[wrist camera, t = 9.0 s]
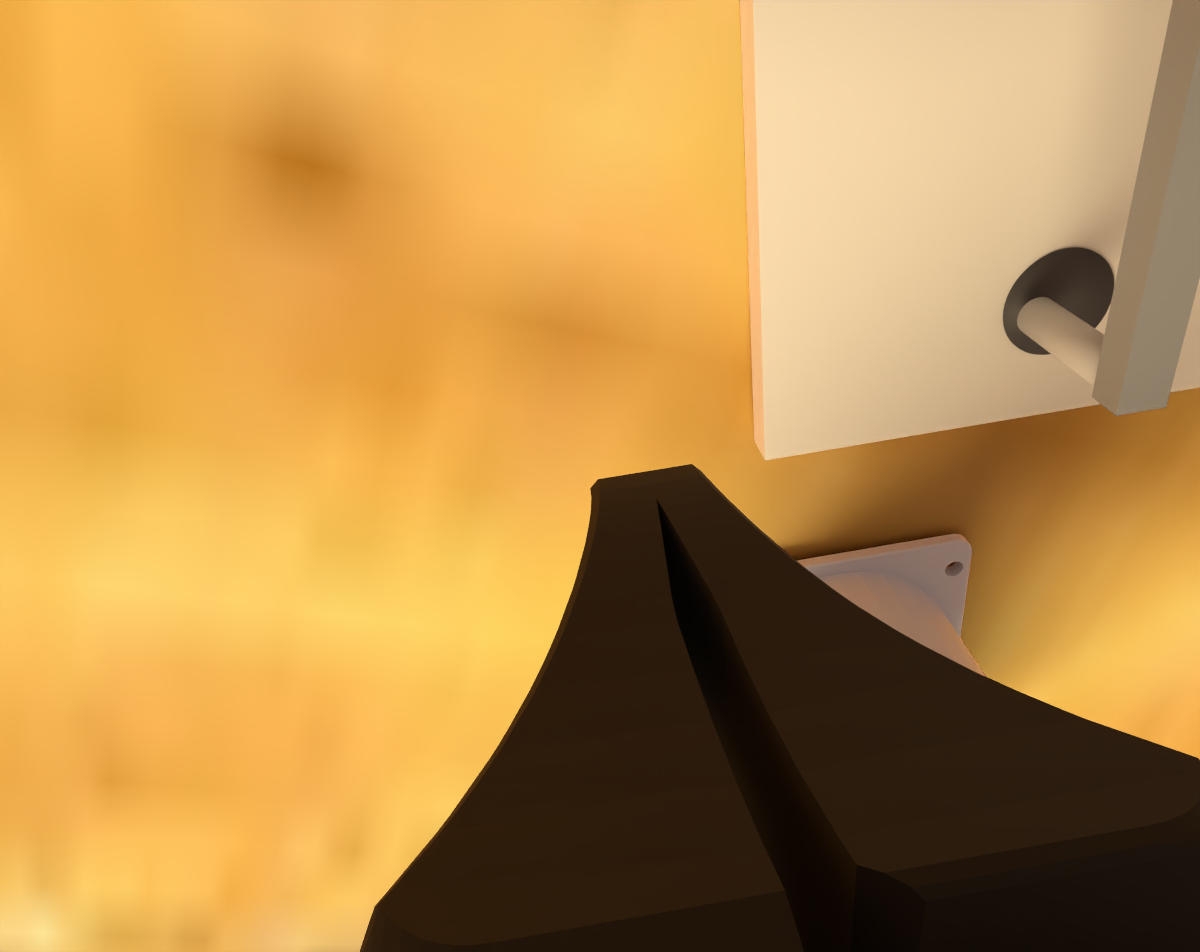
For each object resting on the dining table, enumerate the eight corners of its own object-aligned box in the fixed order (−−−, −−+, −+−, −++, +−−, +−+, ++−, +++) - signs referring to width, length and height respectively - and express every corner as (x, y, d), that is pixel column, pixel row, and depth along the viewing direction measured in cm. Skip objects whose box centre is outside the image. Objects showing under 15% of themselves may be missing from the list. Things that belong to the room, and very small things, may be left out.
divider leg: (1097, 323, 20) (1230, 410, 17) (969, 344, 20) (1076, 437, 17) (1228, -340, 14) (1486, -431, 10) (1046, -315, 14) (1243, -395, 10)
